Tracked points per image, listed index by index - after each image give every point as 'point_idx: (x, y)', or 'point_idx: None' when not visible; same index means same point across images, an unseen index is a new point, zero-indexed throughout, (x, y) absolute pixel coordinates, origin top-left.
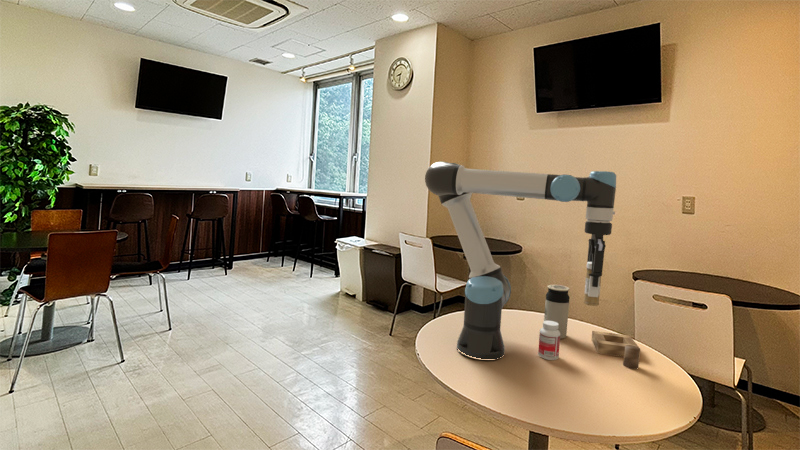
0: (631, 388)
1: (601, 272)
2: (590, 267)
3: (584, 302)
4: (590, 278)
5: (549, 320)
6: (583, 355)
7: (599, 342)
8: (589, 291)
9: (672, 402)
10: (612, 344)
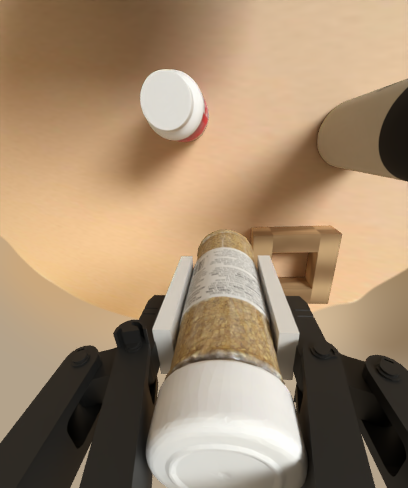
0: (121, 254)
1: (74, 410)
2: (163, 390)
3: (214, 232)
4: (157, 316)
5: (351, 108)
6: (227, 197)
7: (257, 237)
8: (176, 269)
9: (108, 292)
10: (255, 261)
